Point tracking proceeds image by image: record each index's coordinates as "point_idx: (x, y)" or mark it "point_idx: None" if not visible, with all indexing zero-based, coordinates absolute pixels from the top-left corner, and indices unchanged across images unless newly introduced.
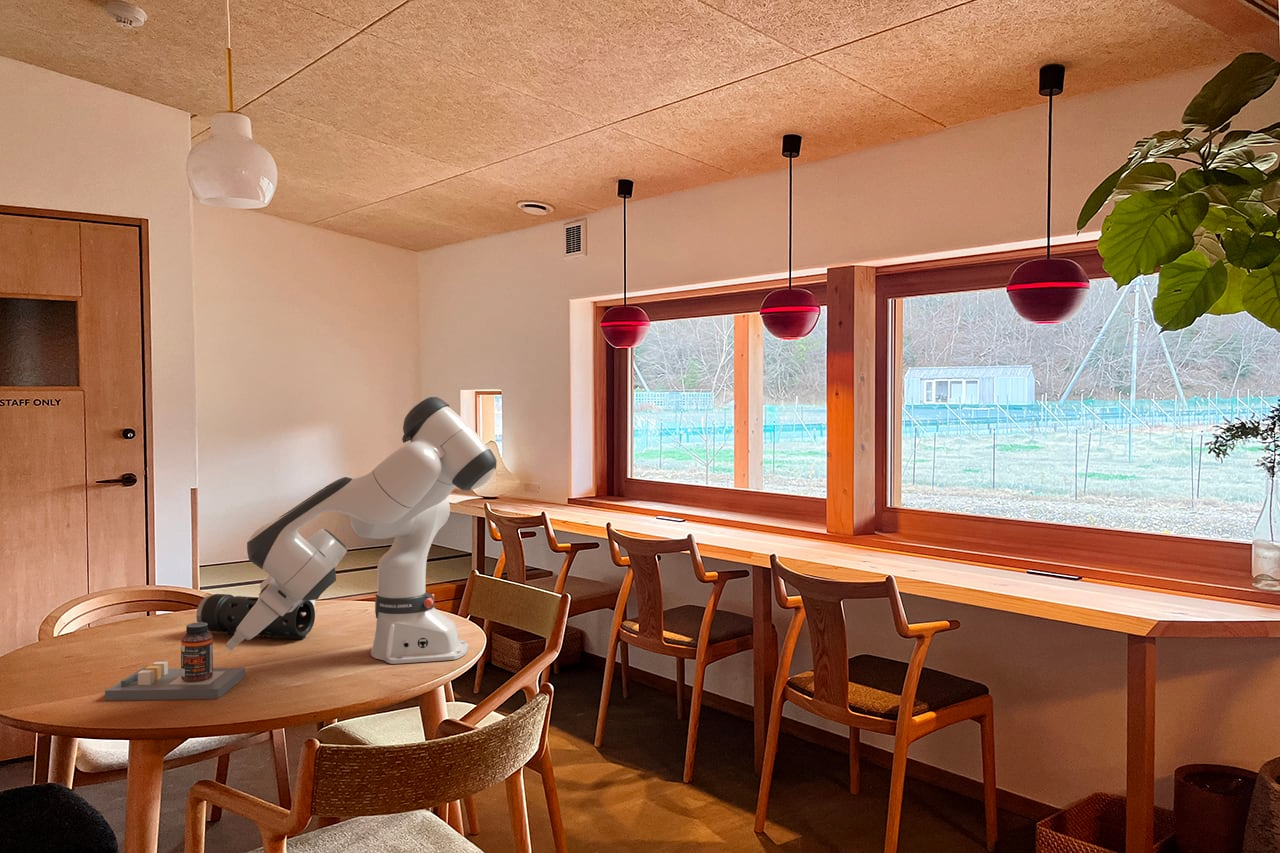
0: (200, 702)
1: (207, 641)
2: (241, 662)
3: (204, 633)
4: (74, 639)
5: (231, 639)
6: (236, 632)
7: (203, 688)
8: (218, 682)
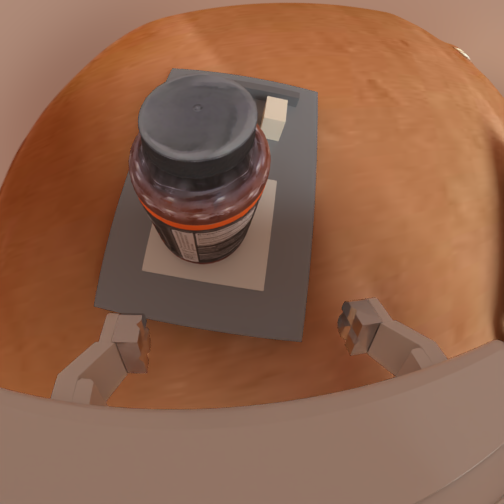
0: (89, 269)
1: (153, 212)
2: (413, 291)
3: (161, 177)
4: (454, 57)
5: (99, 343)
6: (67, 378)
7: (107, 264)
8: (154, 295)
